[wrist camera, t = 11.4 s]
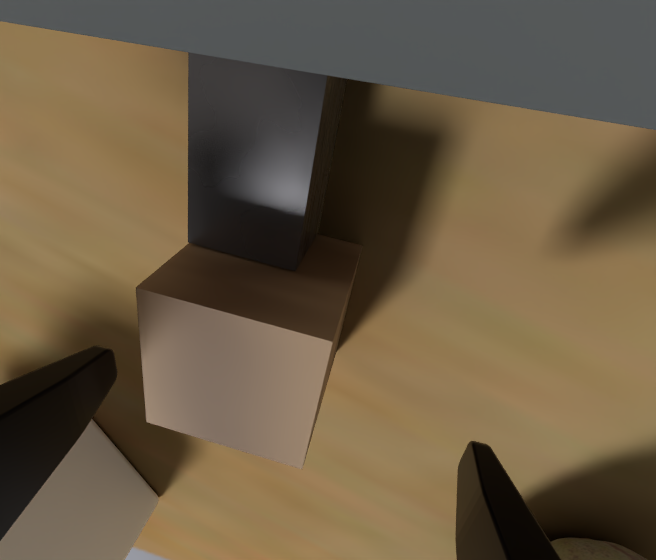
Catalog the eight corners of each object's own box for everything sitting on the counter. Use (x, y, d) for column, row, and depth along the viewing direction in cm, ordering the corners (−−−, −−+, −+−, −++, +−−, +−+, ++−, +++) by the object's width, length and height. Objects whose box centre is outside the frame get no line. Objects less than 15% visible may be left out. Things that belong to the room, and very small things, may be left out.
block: (362, 244, 13) (332, 342, 9) (336, 351, 15) (302, 469, 11) (228, 210, 13) (135, 287, 9) (222, 319, 16) (146, 421, 11)
